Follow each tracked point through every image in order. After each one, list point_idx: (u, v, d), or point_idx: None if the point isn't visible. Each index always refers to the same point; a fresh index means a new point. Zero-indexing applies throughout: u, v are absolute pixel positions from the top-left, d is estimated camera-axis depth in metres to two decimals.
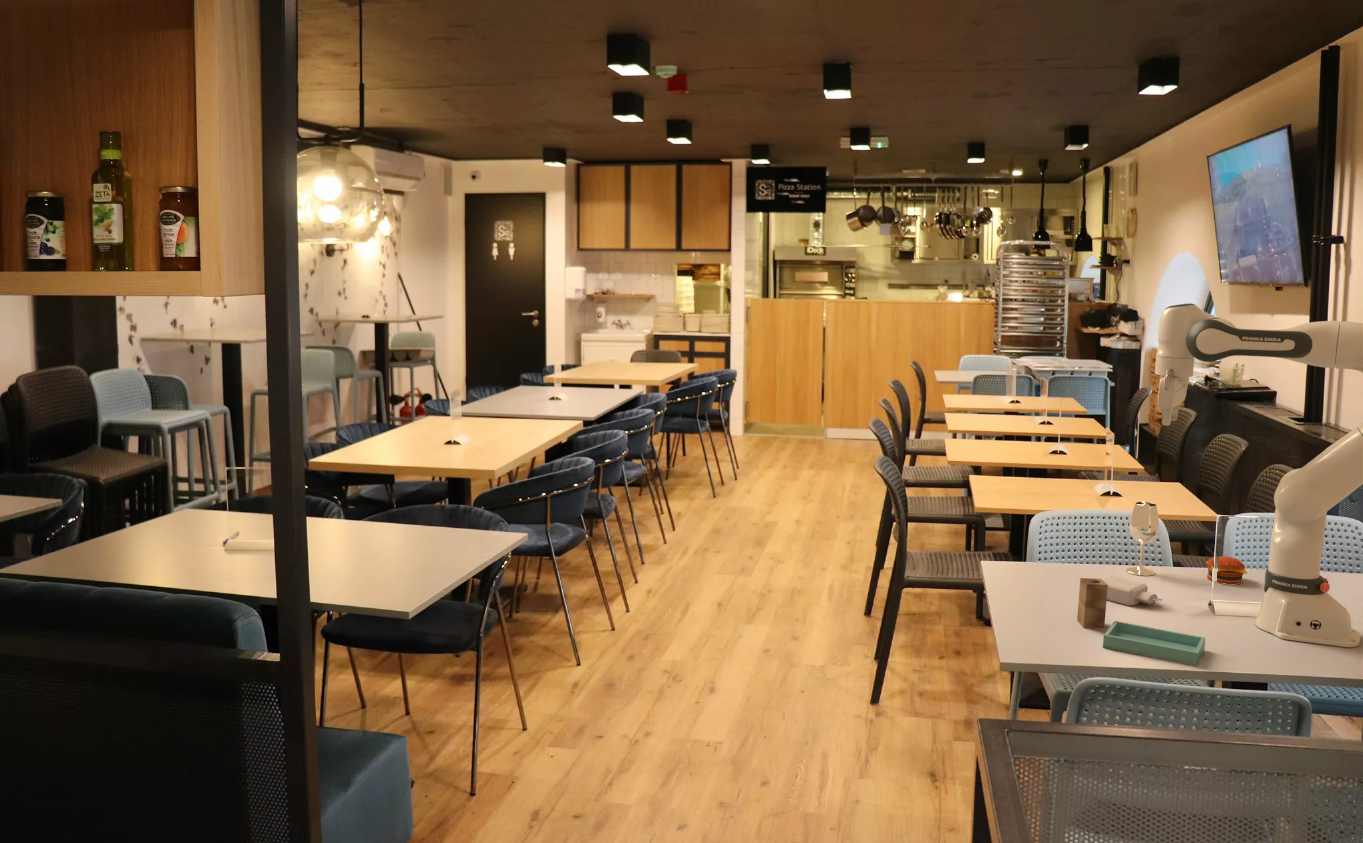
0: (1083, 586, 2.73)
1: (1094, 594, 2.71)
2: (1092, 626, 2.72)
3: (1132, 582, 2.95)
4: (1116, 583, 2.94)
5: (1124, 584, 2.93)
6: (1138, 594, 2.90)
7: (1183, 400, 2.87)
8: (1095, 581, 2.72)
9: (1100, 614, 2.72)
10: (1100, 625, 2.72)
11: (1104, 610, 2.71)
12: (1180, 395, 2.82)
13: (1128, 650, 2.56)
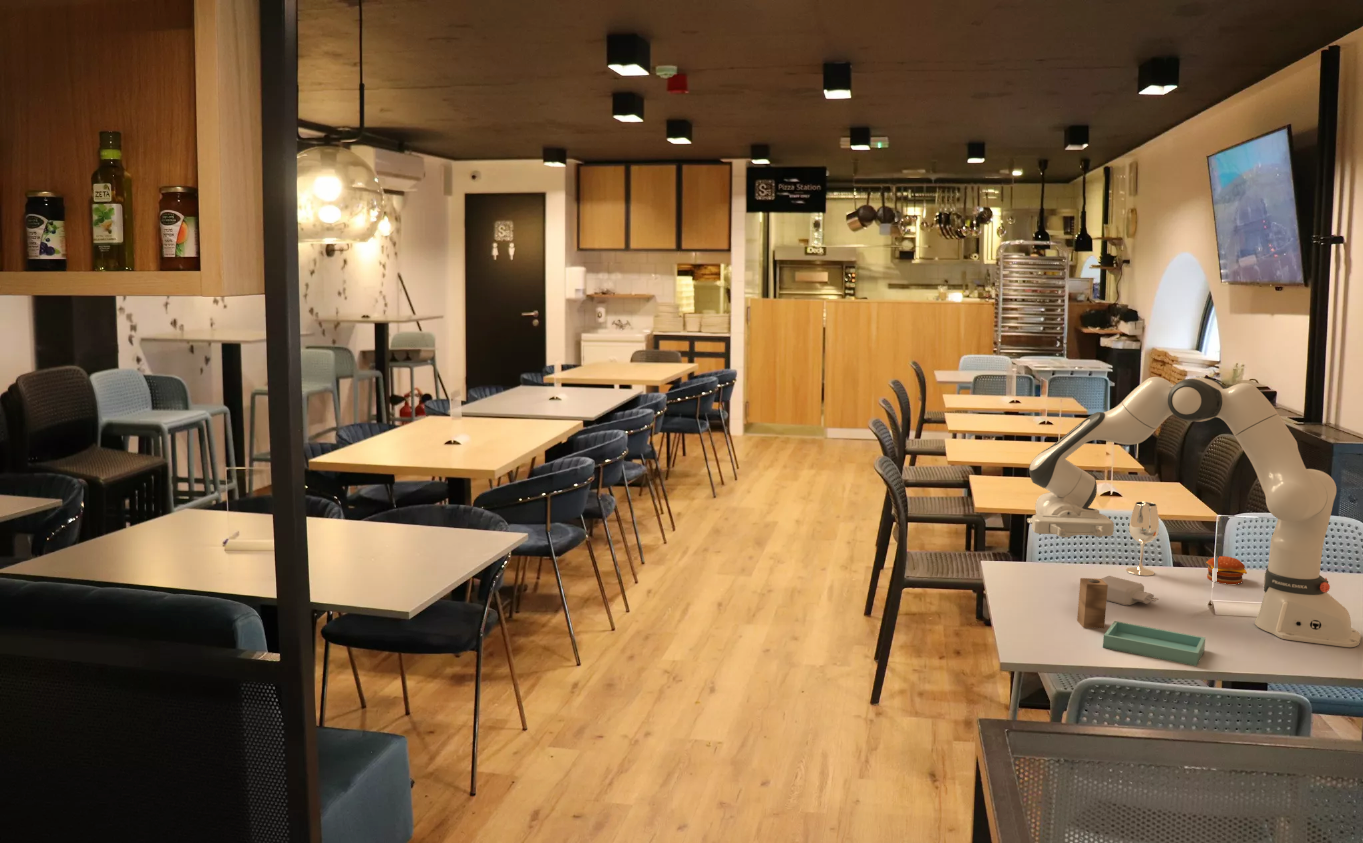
0: (1083, 586, 2.73)
1: (1094, 594, 2.71)
2: (1092, 626, 2.72)
3: (1129, 582, 2.95)
4: (1112, 583, 2.94)
5: (1120, 583, 2.93)
6: (1134, 594, 2.90)
7: (1105, 522, 2.88)
8: (1095, 581, 2.72)
9: (1100, 614, 2.72)
10: (1100, 625, 2.72)
11: (1104, 610, 2.71)
12: (1078, 519, 2.90)
13: (1128, 650, 2.56)
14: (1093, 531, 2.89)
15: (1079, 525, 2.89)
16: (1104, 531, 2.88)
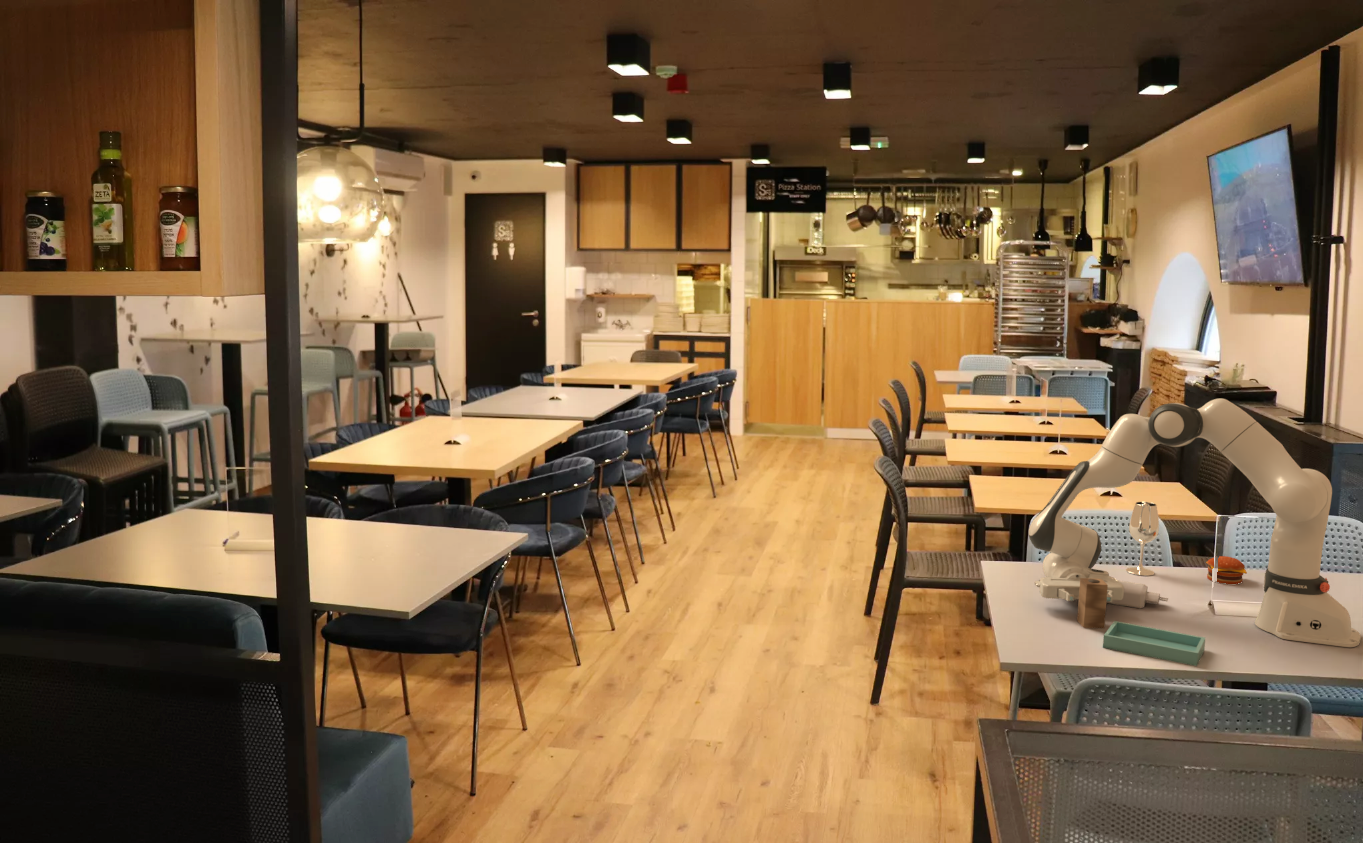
0: (1083, 587, 2.73)
1: (1094, 594, 2.71)
2: (1092, 626, 2.72)
3: (1133, 583, 2.93)
4: None
5: (1129, 586, 2.91)
6: (1146, 595, 2.89)
7: (1114, 586, 2.80)
8: (1095, 581, 2.72)
9: (1100, 614, 2.72)
10: (1100, 625, 2.72)
11: (1104, 610, 2.71)
12: None
13: (1128, 650, 2.56)
14: None
15: None
16: (1114, 595, 2.80)
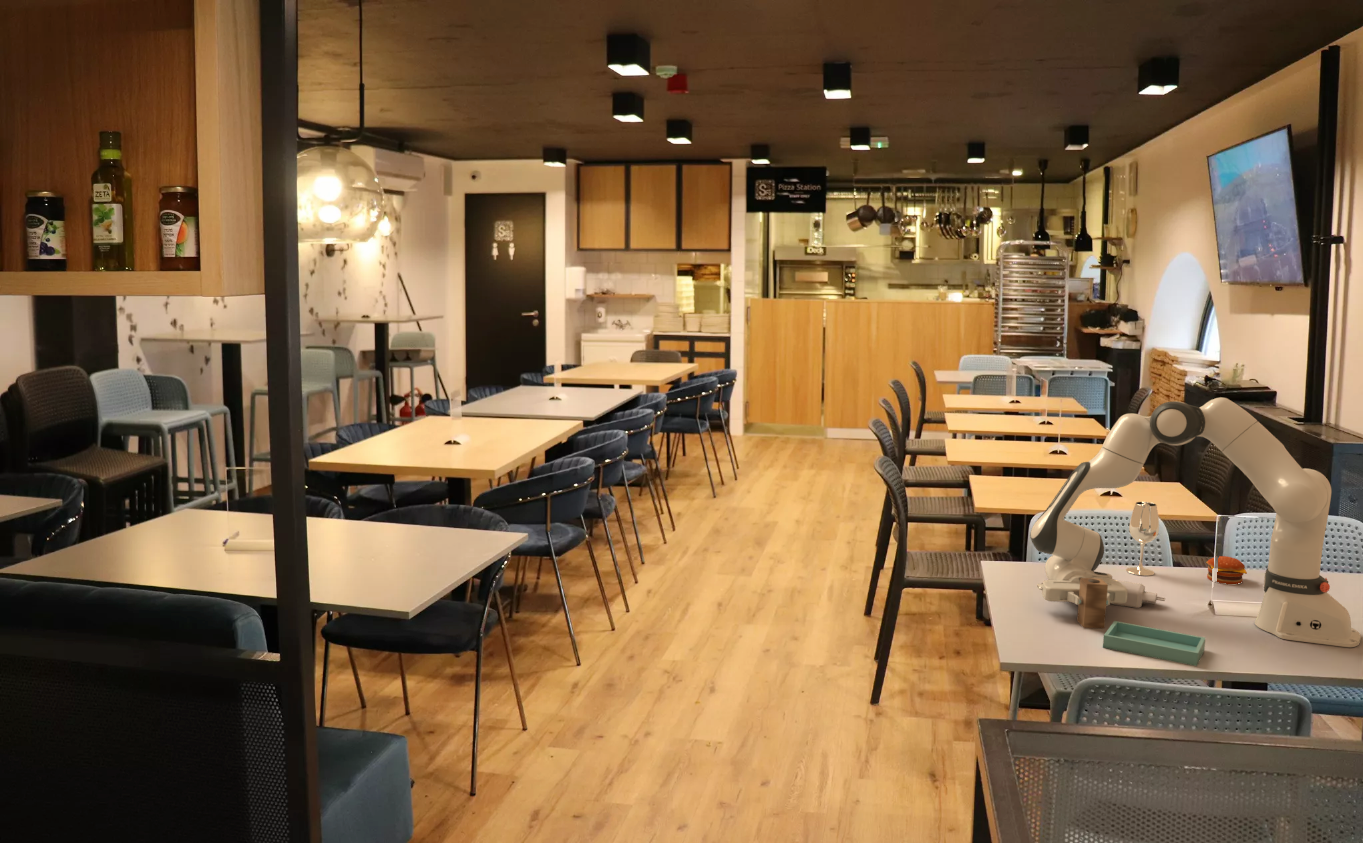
0: (1083, 586, 2.73)
1: (1094, 594, 2.71)
2: (1092, 626, 2.72)
3: (1130, 583, 2.94)
4: None
5: (1126, 586, 2.91)
6: (1143, 595, 2.89)
7: (1118, 589, 2.77)
8: (1095, 581, 2.72)
9: (1100, 614, 2.72)
10: (1100, 625, 2.72)
11: (1104, 610, 2.71)
12: None
13: (1128, 650, 2.56)
14: None
15: None
16: (1117, 598, 2.77)
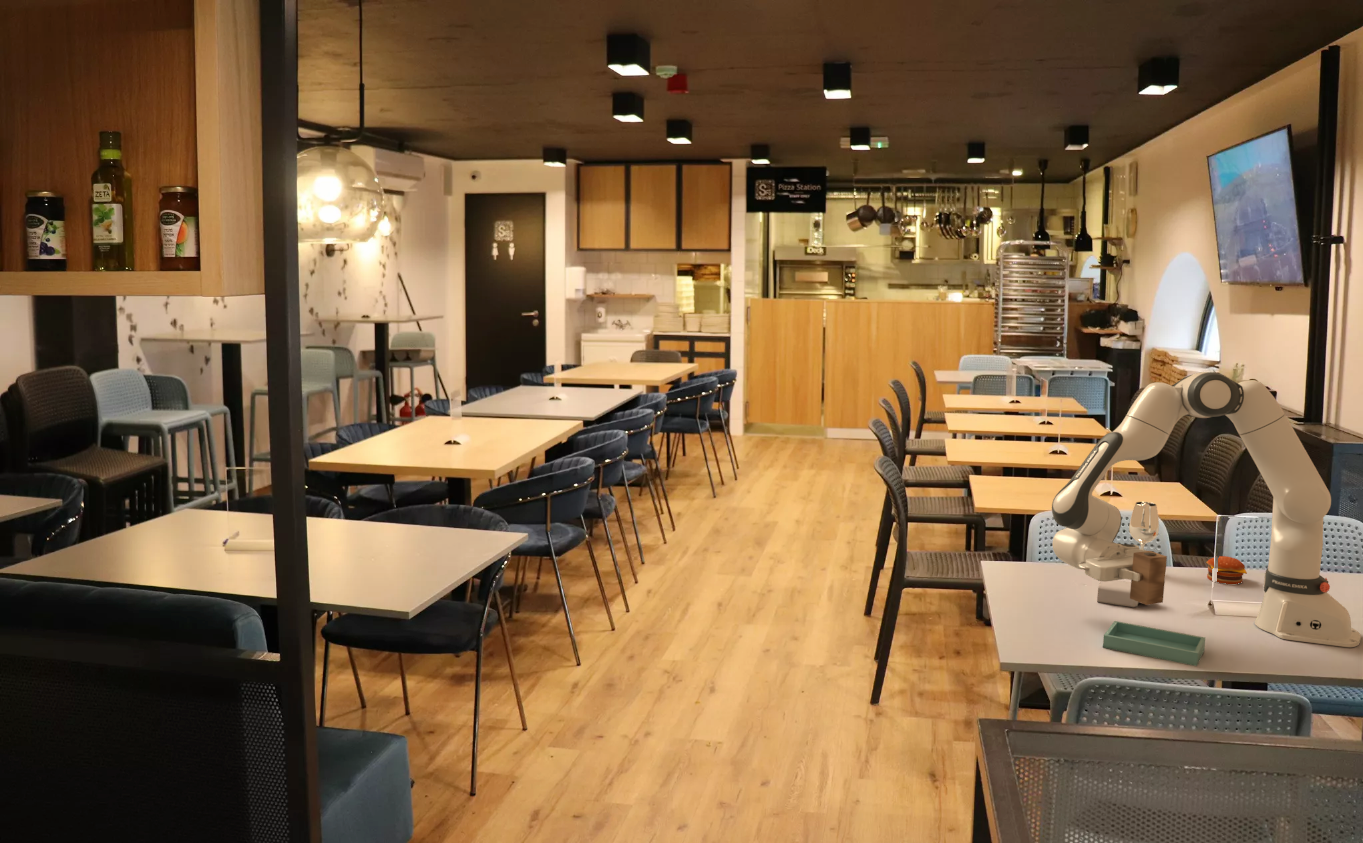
0: (1142, 561, 2.57)
1: (1155, 568, 2.56)
2: (1153, 602, 2.57)
3: (1127, 583, 2.94)
4: (1115, 586, 2.91)
5: (1122, 585, 2.92)
6: None
7: None
8: (1152, 554, 2.57)
9: (1160, 588, 2.57)
10: (1159, 600, 2.58)
11: (1163, 583, 2.57)
12: None
13: (1128, 650, 2.56)
14: None
15: None
16: None
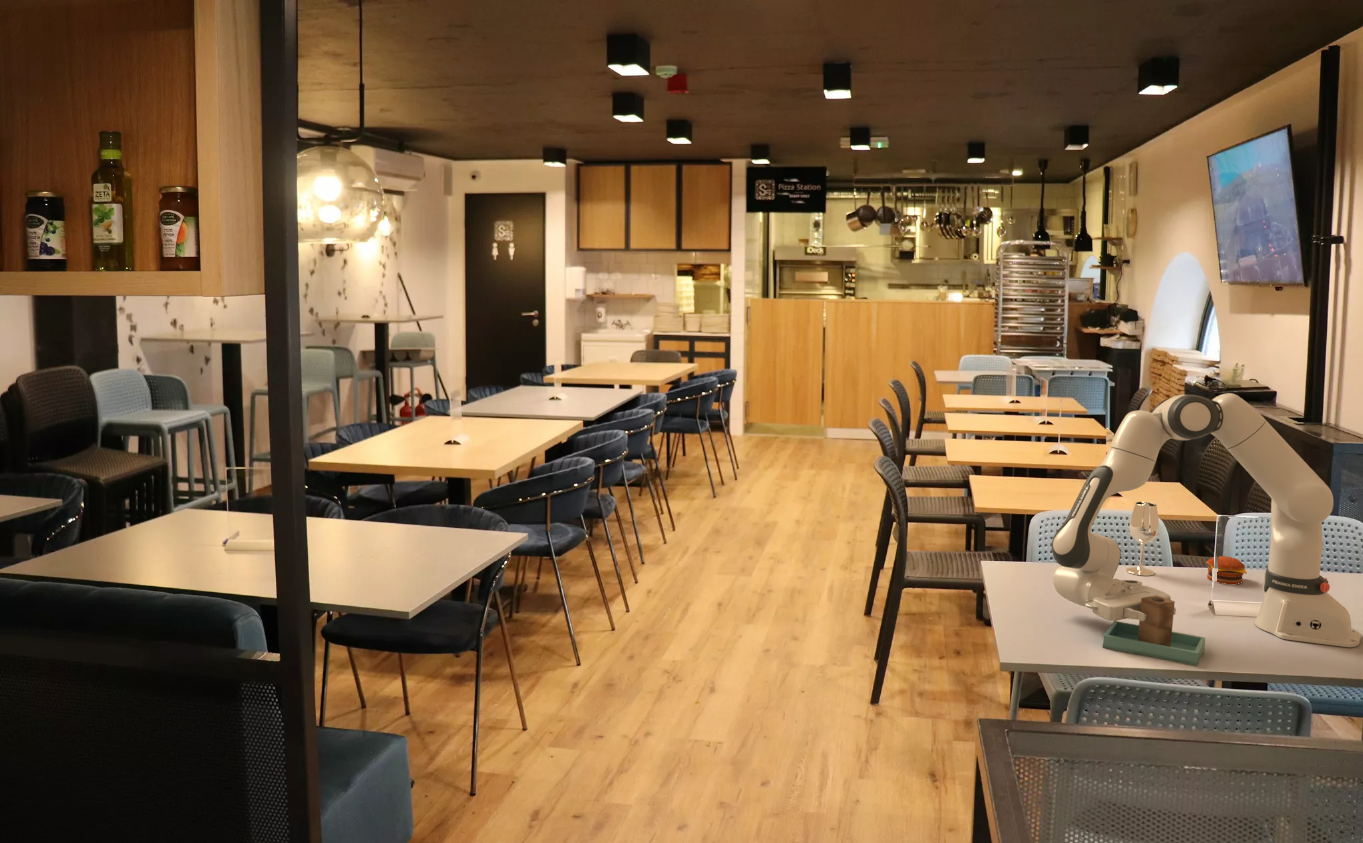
0: (1151, 607, 2.56)
1: (1164, 613, 2.55)
2: None
3: None
4: None
5: None
6: None
7: (1164, 596, 2.64)
8: (1160, 599, 2.57)
9: (1168, 634, 2.57)
10: (1167, 645, 2.57)
11: (1171, 628, 2.57)
12: (1139, 597, 2.63)
13: (1128, 650, 2.56)
14: None
15: None
16: None
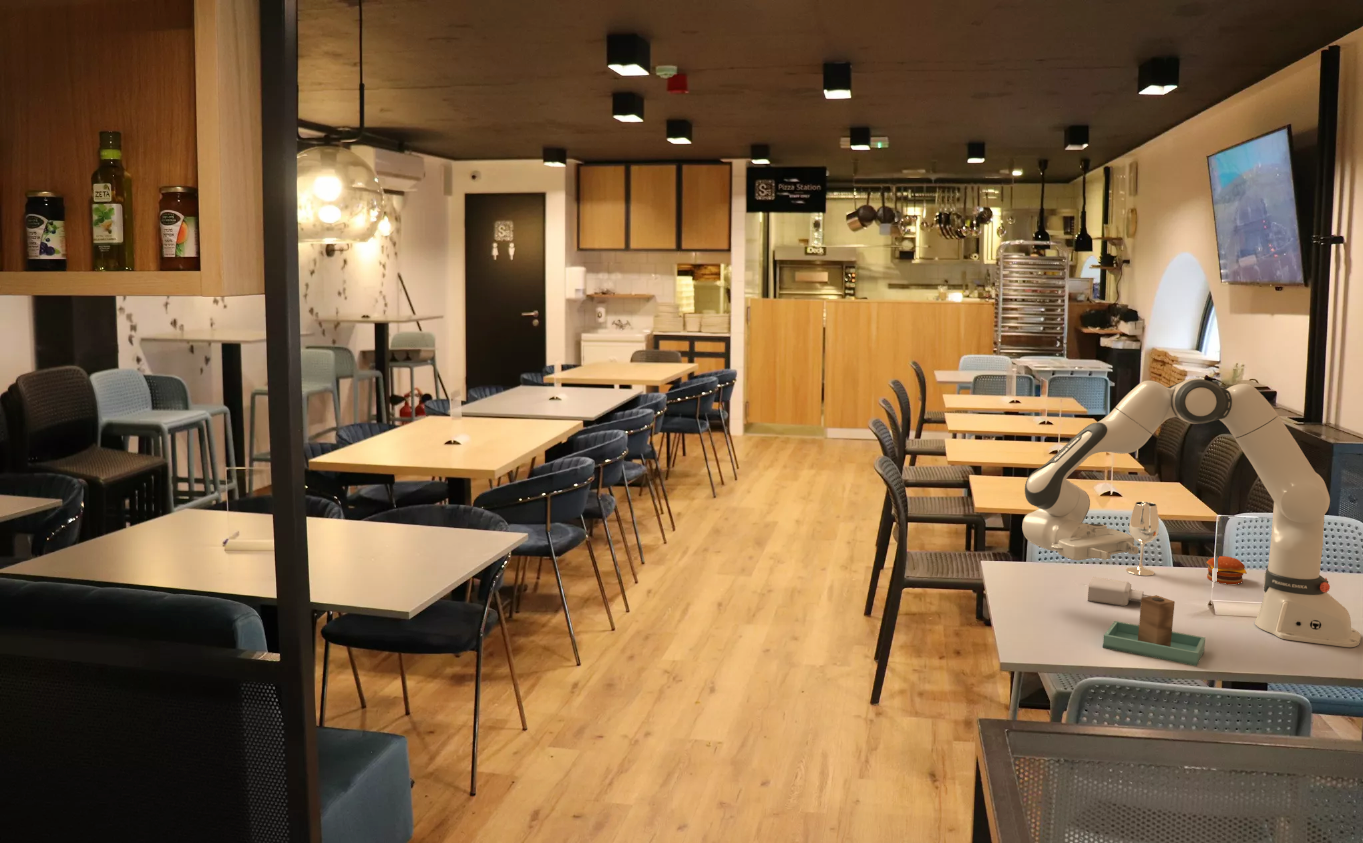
0: (1151, 607, 2.56)
1: (1164, 613, 2.55)
2: None
3: (1117, 581, 2.95)
4: (1106, 584, 2.92)
5: (1113, 584, 2.93)
6: (1130, 593, 2.90)
7: (1128, 537, 2.73)
8: (1160, 599, 2.57)
9: (1168, 634, 2.57)
10: (1167, 645, 2.57)
11: (1171, 628, 2.57)
12: (1103, 538, 2.72)
13: (1128, 650, 2.56)
14: (1119, 548, 2.72)
15: (1108, 544, 2.70)
16: None
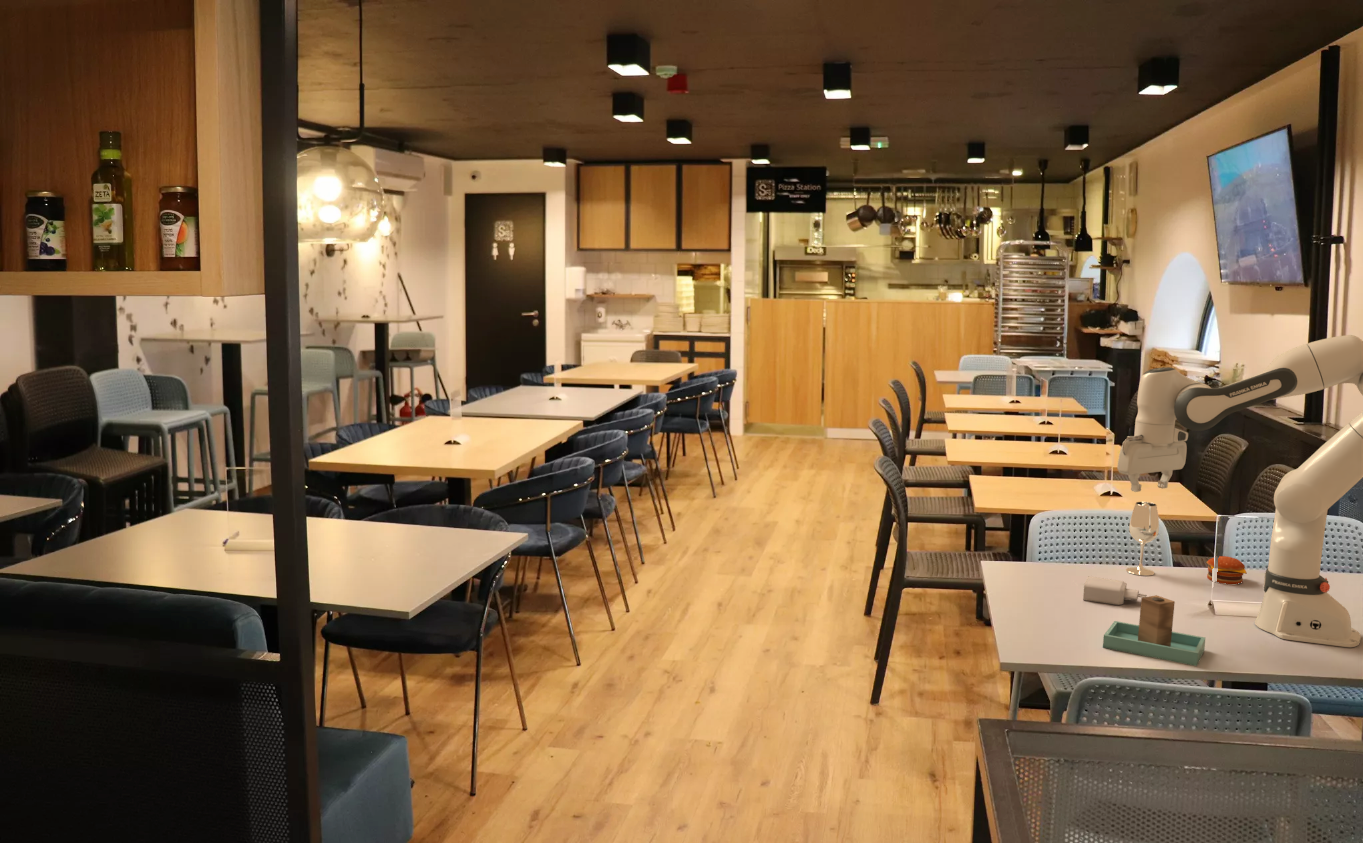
0: (1151, 607, 2.56)
1: (1164, 613, 2.55)
2: None
3: (1112, 581, 2.96)
4: (1101, 584, 2.93)
5: (1108, 583, 2.93)
6: (1125, 592, 2.91)
7: (1178, 468, 2.75)
8: (1160, 599, 2.57)
9: (1168, 634, 2.57)
10: (1167, 645, 2.57)
11: (1171, 628, 2.57)
12: (1161, 462, 2.72)
13: (1128, 650, 2.56)
14: None
15: None
16: None
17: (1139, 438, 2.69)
